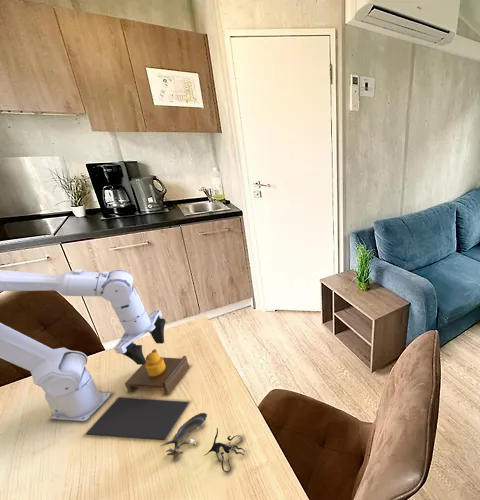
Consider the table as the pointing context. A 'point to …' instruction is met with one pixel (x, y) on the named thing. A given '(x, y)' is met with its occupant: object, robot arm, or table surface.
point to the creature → (226, 448)
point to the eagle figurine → (185, 434)
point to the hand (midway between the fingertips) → (151, 352)
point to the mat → (139, 418)
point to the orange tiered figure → (154, 364)
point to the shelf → (159, 376)
